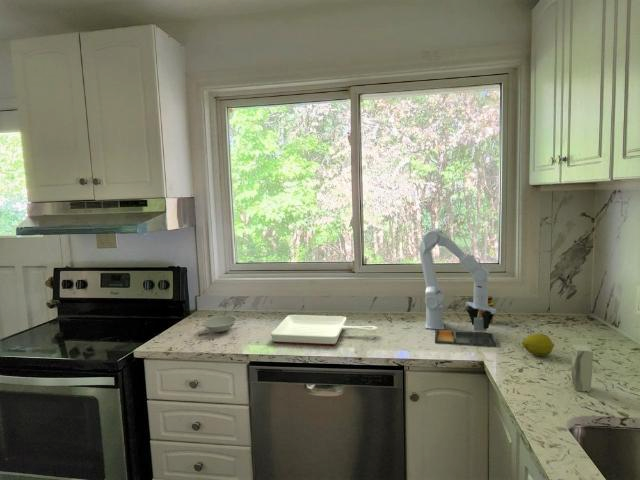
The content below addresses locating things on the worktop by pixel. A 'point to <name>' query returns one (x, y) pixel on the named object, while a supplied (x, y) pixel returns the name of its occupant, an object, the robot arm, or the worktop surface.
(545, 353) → the lemon
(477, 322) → the pale blue block
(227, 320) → the dish
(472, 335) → the tray
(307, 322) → the pan
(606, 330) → the worktop surface
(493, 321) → the condiment
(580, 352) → the box
